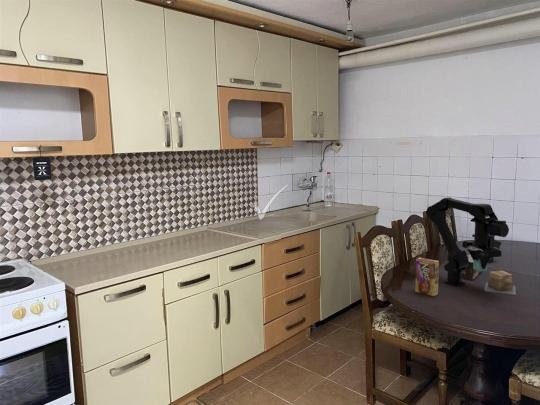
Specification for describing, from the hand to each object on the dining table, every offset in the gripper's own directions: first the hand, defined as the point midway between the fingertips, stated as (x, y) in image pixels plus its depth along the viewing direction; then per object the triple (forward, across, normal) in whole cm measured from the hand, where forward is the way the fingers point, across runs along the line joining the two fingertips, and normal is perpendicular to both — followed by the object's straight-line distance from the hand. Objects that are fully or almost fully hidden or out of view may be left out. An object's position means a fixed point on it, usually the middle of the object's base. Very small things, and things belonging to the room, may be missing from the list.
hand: (480, 267), depth 180 cm
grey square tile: (+11, 0, -11) cm, 15 cm away
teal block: (+1, 0, 0) cm, 1 cm away
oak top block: (+7, 0, -11) cm, 13 cm away
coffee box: (+7, +26, -17) cm, 32 cm away
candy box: (+11, +4, +23) cm, 26 cm away
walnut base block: (+11, 0, -11) cm, 15 cm away
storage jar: (+11, +40, -32) cm, 53 cm away
